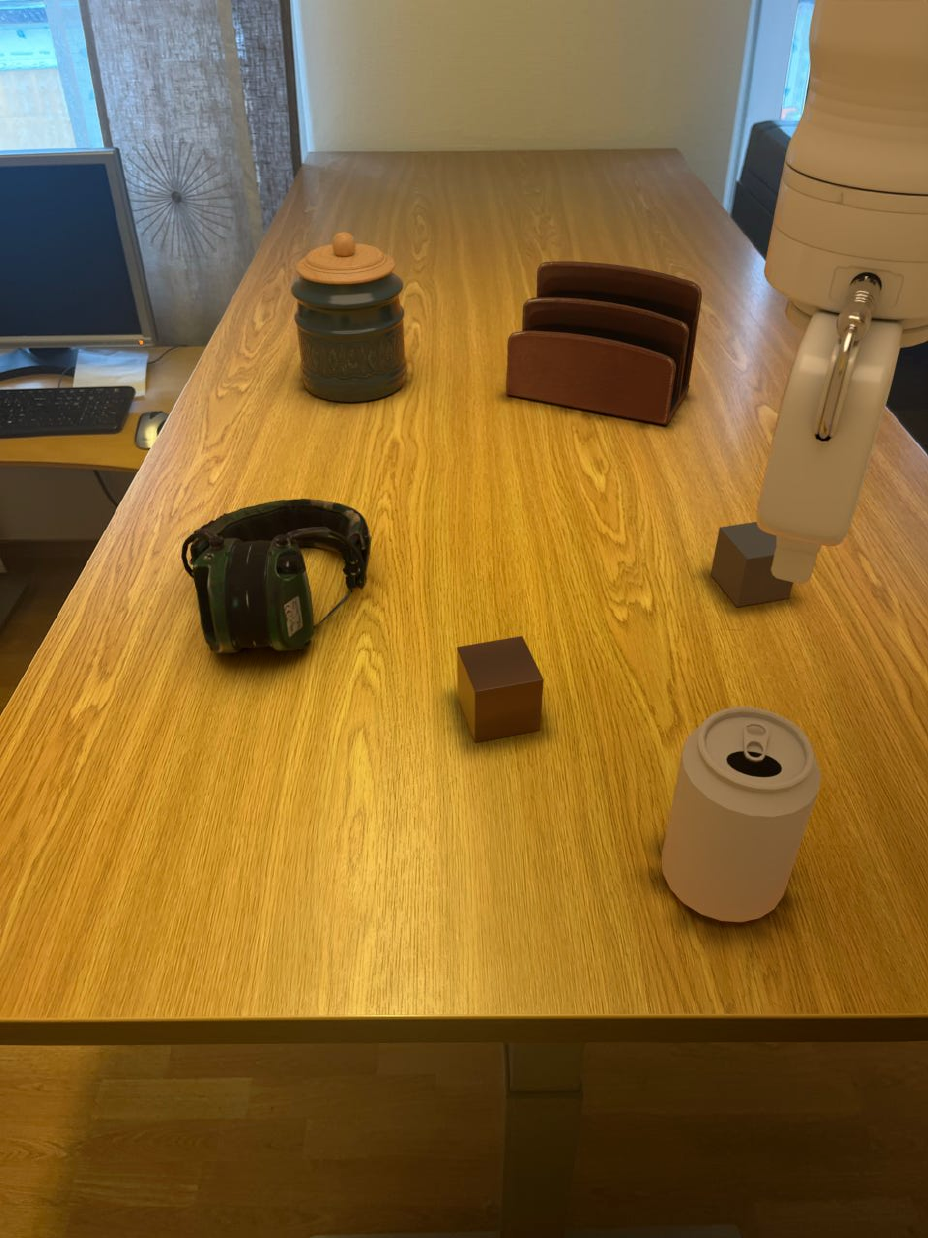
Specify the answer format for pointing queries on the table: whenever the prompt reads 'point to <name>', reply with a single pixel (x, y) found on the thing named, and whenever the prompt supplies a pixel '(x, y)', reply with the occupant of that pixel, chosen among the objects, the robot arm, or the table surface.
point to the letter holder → (606, 340)
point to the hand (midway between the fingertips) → (806, 523)
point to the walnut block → (499, 688)
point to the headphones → (270, 570)
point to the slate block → (747, 565)
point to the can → (739, 813)
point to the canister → (349, 322)
